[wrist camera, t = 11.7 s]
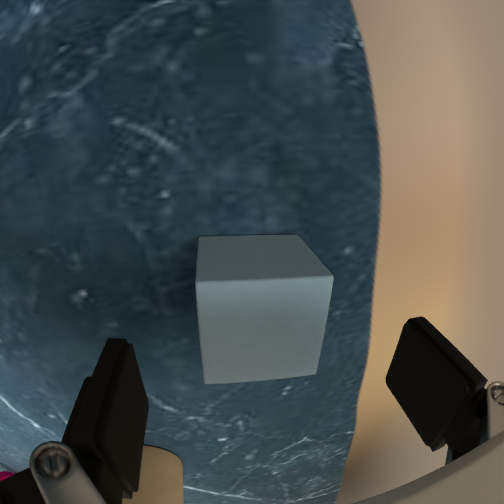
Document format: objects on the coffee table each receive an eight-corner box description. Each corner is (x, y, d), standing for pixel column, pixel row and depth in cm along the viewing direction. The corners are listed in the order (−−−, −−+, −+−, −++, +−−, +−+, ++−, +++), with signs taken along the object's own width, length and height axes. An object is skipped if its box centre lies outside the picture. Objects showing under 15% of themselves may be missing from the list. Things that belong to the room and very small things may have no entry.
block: (297, 233, 14) (335, 275, 10) (290, 316, 15) (316, 375, 11) (198, 235, 13) (194, 282, 9) (203, 321, 15) (204, 385, 11)
